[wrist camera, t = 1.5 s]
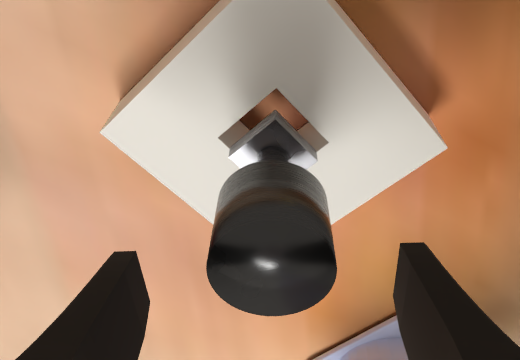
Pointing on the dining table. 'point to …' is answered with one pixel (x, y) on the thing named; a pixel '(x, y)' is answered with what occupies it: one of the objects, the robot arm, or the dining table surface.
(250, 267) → the plunger
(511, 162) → the dining table surface
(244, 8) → the block
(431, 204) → the dining table surface
